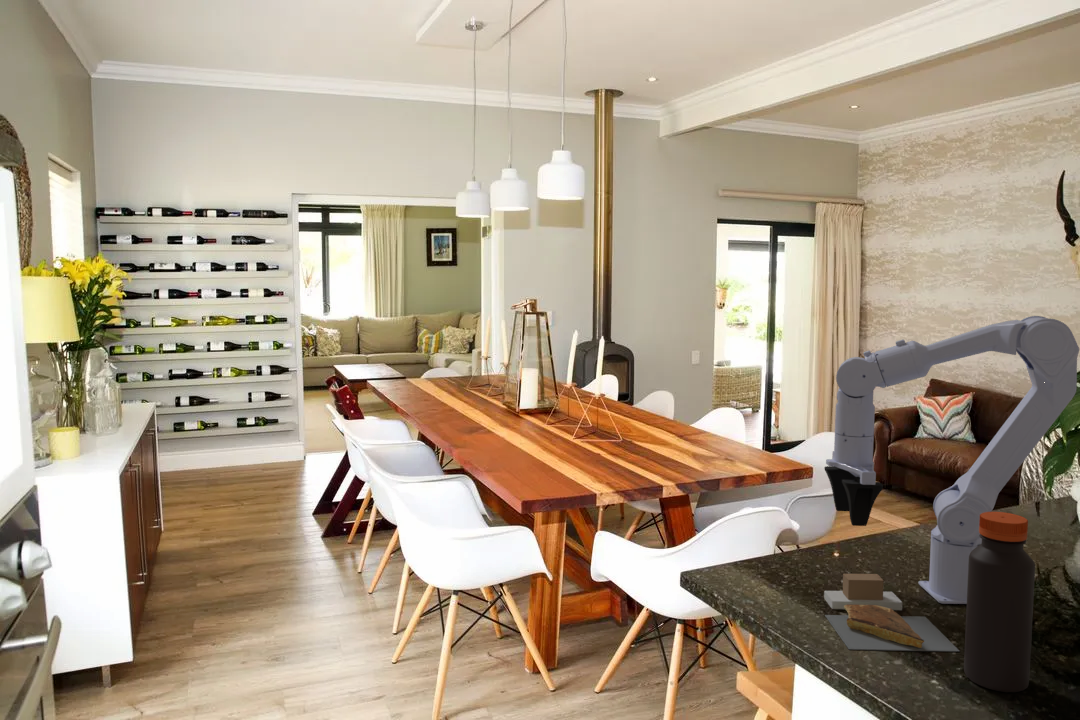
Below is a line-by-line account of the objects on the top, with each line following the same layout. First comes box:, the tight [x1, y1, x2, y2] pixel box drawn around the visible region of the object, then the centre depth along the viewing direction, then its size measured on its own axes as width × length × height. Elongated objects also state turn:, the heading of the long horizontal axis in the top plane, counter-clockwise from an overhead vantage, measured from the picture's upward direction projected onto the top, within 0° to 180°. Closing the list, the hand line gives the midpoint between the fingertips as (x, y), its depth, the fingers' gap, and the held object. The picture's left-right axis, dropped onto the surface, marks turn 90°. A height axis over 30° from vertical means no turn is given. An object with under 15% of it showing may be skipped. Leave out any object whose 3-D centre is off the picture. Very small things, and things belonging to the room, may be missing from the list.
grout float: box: [823, 573, 903, 611], centre depth 116 cm, size 10×4×4 cm, turn 86°
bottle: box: [963, 511, 1036, 693], centre depth 93 cm, size 7×7×20 cm
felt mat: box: [824, 614, 961, 653], centre depth 106 cm, size 14×10×1 cm
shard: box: [844, 604, 924, 648], centre depth 106 cm, size 11×8×2 cm
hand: (850, 517), depth 124 cm, fingers open, 7 cm apart
